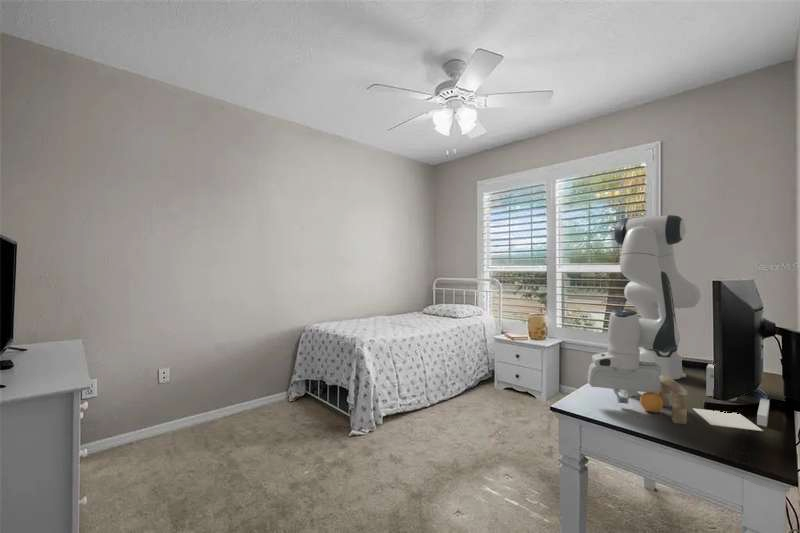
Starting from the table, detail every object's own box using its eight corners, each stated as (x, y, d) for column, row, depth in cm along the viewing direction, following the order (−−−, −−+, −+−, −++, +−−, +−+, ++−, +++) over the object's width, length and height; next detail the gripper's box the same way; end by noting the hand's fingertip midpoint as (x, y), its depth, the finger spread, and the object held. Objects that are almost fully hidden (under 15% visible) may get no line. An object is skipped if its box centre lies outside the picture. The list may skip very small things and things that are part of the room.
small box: (738, 398, 126) (738, 368, 126) (736, 402, 122) (737, 371, 122) (707, 392, 132) (708, 363, 132) (705, 396, 128) (706, 366, 128)
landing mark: (692, 408, 117) (692, 408, 117) (739, 413, 114) (739, 413, 114) (711, 425, 106) (711, 424, 106) (763, 431, 102) (763, 430, 102)
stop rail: (760, 407, 119) (760, 398, 119) (769, 409, 117) (769, 399, 117) (756, 424, 106) (757, 414, 106) (766, 426, 105) (766, 416, 105)
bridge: (674, 422, 108) (674, 389, 107) (656, 403, 122) (656, 374, 122) (686, 424, 107) (687, 391, 106) (667, 404, 121) (667, 375, 121)
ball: (656, 387, 117) (664, 405, 116) (635, 391, 120) (643, 409, 119) (660, 394, 112) (668, 413, 111) (638, 398, 114) (646, 417, 114)
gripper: (657, 360, 118) (656, 403, 118) (587, 355, 124) (586, 395, 125) (664, 365, 112) (664, 410, 112) (590, 359, 118) (589, 402, 119)
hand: (622, 402), depth 118 cm, fingers closed
